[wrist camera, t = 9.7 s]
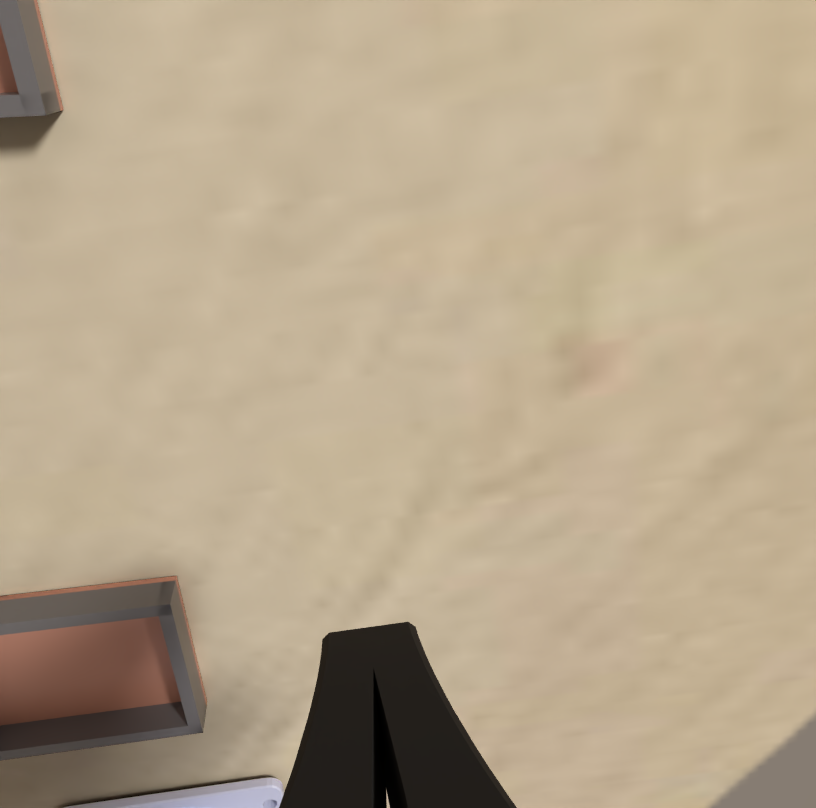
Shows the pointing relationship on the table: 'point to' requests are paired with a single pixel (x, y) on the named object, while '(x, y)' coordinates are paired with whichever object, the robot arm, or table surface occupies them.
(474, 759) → the robot arm
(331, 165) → the table surface
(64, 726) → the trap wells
